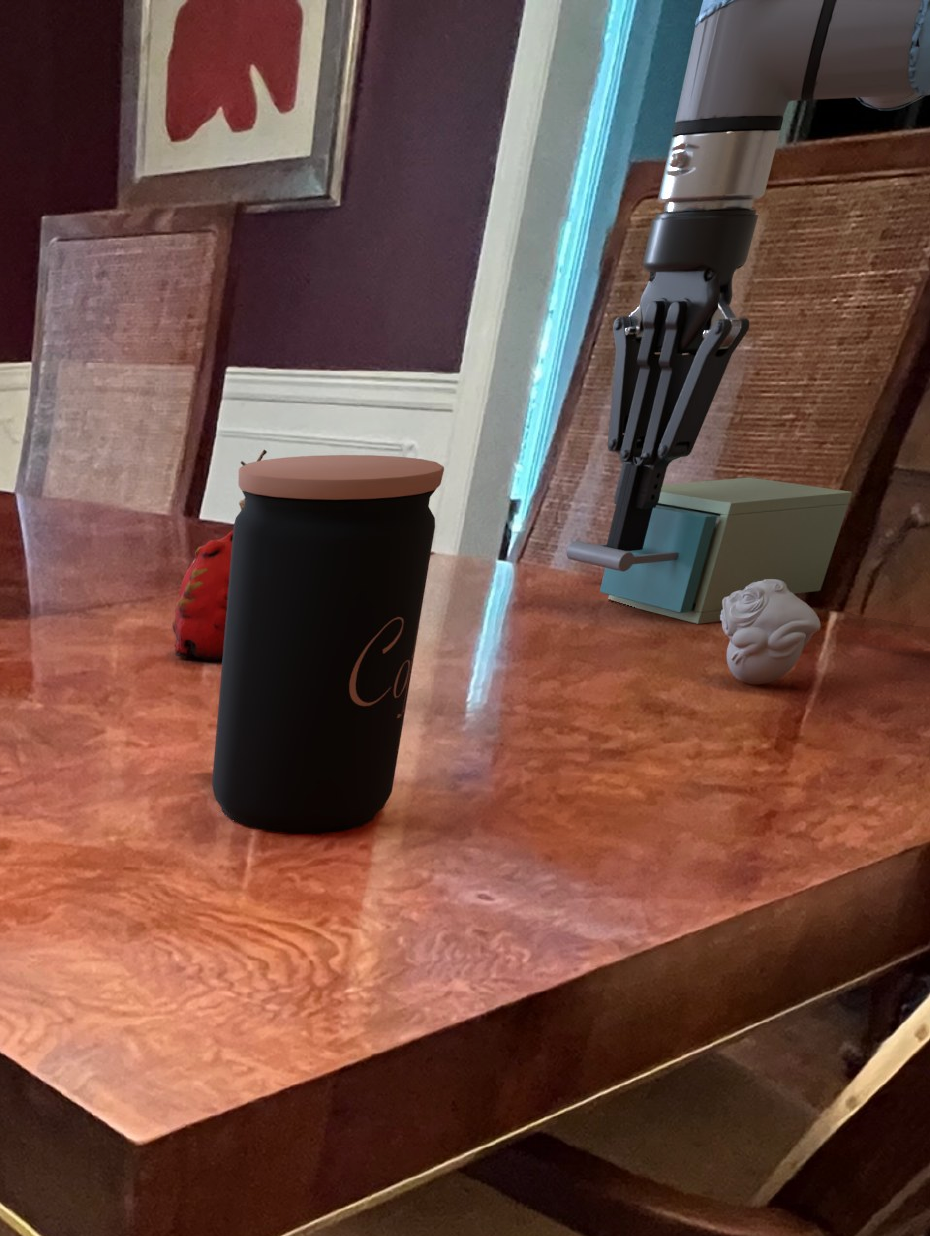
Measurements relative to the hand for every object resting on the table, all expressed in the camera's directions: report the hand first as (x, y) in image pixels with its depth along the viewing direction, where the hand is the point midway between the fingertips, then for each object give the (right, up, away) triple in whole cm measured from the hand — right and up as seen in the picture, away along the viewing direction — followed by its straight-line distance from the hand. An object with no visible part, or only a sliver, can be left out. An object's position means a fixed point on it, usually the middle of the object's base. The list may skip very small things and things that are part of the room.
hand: (623, 549), depth 120 cm
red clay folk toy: (-37, -11, -4) cm, 39 cm away
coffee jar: (-38, -37, -37) cm, 65 cm away
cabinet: (+11, -2, +6) cm, 12 cm away
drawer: (+6, -2, +4) cm, 7 cm away
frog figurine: (+1, -20, -16) cm, 26 cm away
